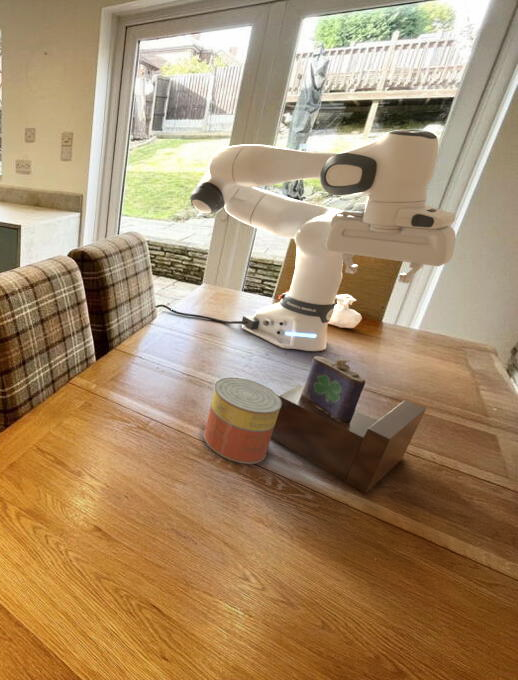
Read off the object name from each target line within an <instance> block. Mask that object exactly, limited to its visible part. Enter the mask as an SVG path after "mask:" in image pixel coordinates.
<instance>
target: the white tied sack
mask: <svg viewBox="0 0 518 680" xmlns="http://www.w3.org/2000/svg"><path fill="white" fill-rule="evenodd" d="M335 299H336V303H337V304H335V307H334V312H333V315H332V317H331V319H330V321H329V322H328V325H332V326H335V327H338V328H346V329H354V328H356V327H357V326H358V325H359V324H360V323H361V321H362V320H363V317H362V315H361V313H359V312H357V311H356V310H355V309H353V308H350V306H353V303H354V302H356V301H358V300H357V299H356V298H354V297H353V295H350V294H349V293H343V294H337V295H336V298H335Z"/></svg>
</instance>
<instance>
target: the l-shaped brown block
mask: <svg viewBox="0 0 518 680" xmlns="http://www.w3.org/2000/svg"><path fill="white" fill-rule="evenodd" d="M303 388H304V386H303V385H302V384H297V385H295V386H293V387H292V388H290V389H288V390H286V391H284V392H282V393H280V394H279V395H278V396H279V398H280V399H281V401H282V406H281V408H280V410H279V413H278V417H277V420H276V423H275V426H274V429H273V432H272V436H271V439H270V440H273V441H275V442H276V443H278V444H280V445H282V446H283V447H285V448H287V449H289V450H290V451H292V452H294V453H295V454H297V455H299V456H300V457H302V458H304V459H305V460H307V461H309V462H311V463H312V464H314V465H316V466H318V468H321V469H322V470H324V471H326V472H328V473H329V474H330V475H333V476H334V477H336V478H338V479H339V480H342V481H343V482H344V483H346V484H348V485H350V486H351V487H353V488H355V489H356V490H358V491H360V492H362V493H363V494H366V493H368V492H369V491H370V490H371V489H372V488H373V487H374V486H375V485H376V484H378V482H379V481H381V479H383V478H384V477H385V476H386V475H387V474H388V473H389V472H390V471H391V470H392V469H394V467H395V466H397V465H398V464H399V462H401V461H402V460H403V458H404V456H405V454H406V452H407V449H408V447H409V445H410V443H411V441H412V439H413V437H414V435H415V433H416V431H417V429H418V427H419V425H420V424H421V423H420V422H421V421H422V418H423V416H424V415H425V412H426V410H427V408H426V407H423V406H421V405H418V404H416V403H413V402H411V401H409V400H406V399H405V400H403V401H402V402H401V403H398V405H397V406H395V407H394V408H392V409H391V410H390V411H388V412H387V413H386V414H385V415H384V416H382V417H381V418H380V419H377V418H375V417H372V416H370V415H367V414H366V413H363V412H361V411H358V410H356V409H355V412H354V415H353V417H352V419H351V422H350V423H348V424H345V423H342V422H340V421H337V420H336V419H335V418H333V417H331V415H329V414H327V413H325V411H324V410H321V409H319V408H317V407H316V406H314V405H313V404H312V403H311V402H309V401H306V400H305V399H304V398H303V397H302V396H301V394H302V390H303Z"/></svg>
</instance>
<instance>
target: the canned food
mask: <svg viewBox="0 0 518 680" xmlns="http://www.w3.org/2000/svg"><path fill="white" fill-rule="evenodd" d="M281 406H282V401H281V399H280V398H279V395H278V394H277V393H276V392H275V391H274V390H273V389H271V388H269V387H268V386H266V385H264V384H261V383H259V382H257V381H253V380H250V379H247V378H241V377H223V378H221V379H219V380H217V381H216V382H215V383H214V390H213V395H212V399H211V402H210V407H209V410H208V411H209V412H208V416H207V419H206V424H205V429H204V431H203V440H204V442H205V443H206V445H207V446H208V447H209V448H210V449H211V450H212V451H213V452H215V454H218V455H219V456H221V457H223V458H224V459H227V460H229V461H232V462H235V463H238V464H239V463H240V464H246V465H252V464H259V463H260V462H262V461H264V460H265V458H266V456H267V452H268V449H269V446H270V445H269V444H270V442H271V440H272V439H271V436H272V432H273V429H274V426H275V423H276V420H277V417H278V413H279V410H280V408H281Z"/></svg>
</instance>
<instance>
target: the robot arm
mask: <svg viewBox="0 0 518 680" xmlns="http://www.w3.org/2000/svg"><path fill="white" fill-rule="evenodd" d="M438 150H439V139H438V136H437V135H435V134H434V133H433V132H431V131H427V130H422V129H421V130H420V129H395V130H390V131H388V132H386V133H385V134H383V135H382V136H380V137H379V138H377V139H375V140H373V141H371V142H368V143H366V144H364V145H360V146H359V147H355V148H353V149H349V150H345V151H343V152H312V151H311V152H310V151H303V150H297V149H290V148H286V147H285V148H284V147H279V146H273V145H266V144H255V143H253V144H250V143H249V144H248V143H247V144H236V145H230V146H224V147H221V148H219V149H218V150H217V151H215V152H214V153H213V154H212V156H211V157H210V159H209V162H208V170H207V171H206V173H205V174H204V176H203V177H202V178H201V180H200V181H199V182H198V184H197V186H195V187H194V188H193V190H192V192H191V194H190V197H189V198H190V200H189V201H190V204H191V205H192V207H193V208H194V209H196V210H197V211H198V212H200V213H201V214H204V215H216V214H217V213H219V212H220V211H221V210H222V209H223V208H224V210H225V212H226V213H227V214H228V215H229V216H231V217H233V218H234V219H236V220H238V221H239V222H242V223H243V224H245V225H248V226H251V227H253V228H256V229H257V230H261V231H263V232H266V233H268V234H272V235H274V236H277V237H282V238H287V239H292V240H294V242H295V246H296V252H295V253H296V254H295V255H296V256H295V268H294V272H293V276H292V280H291V284H290V288H289V290H286V291H285V292H284V293H282V294H280V295H278V298H277V300H279V302H276V303H273V304H269V305H266V306H264V307H262V308H260V309H258V310H257V311H256V312H255V313H254V315H253V316H252V315H243V316H242V319H241V320H232V321H231V320H230V321H229V320H224V319H223V320H222V319H219V318H215V317H211V316H207V315H201V314H194V313H186V312H181V311H177V310H174V309H173V308H171V307H169V306H167V305H165V304H157V305H155V306H154V308H156V309H158V308H165V309H166V310H168V311H170V312H171V313H174V314H176V315H179V316H186V317H194V318H200V319H205V320H210V321H213V322H217V323H221V324H228V325H234V324H235V325H238V324H239V325H242V326H241V328H242V329H243V330H244V331H247V332H249V333H251V334H253V335H255V336H257V337H259V338H261V339H263V340H265V341H267V342H269V343H271V344H273V345H275V346H277V347H279V348H281V349H286V350H287V349H288V350H289V349H290V350H291V349H292V350H298V351H299V350H300V351H306V352H320V351H321V352H322V351H324V350H326V349H327V333H328V327H329V324H328V322H329V321H330V319H331V317H332V315H333V312H334V307H335V305H336V302H335V301H336V299H337V298H336V295H338V292H339V289H340V285H341V283H342V280H343V272H342V271H343V265H345V271H344V272H345V273H346V274H352V275H354V274H356V273H357V271H358V268H359V265H358V264H355V263H354V261H353V257H355V256H360V257H361V256H362V257H369V258H376V259H381V260H388V261H389V260H390V261H395V262H396V261H397V262H404V263H409V268H410V270H409V271H408V272H403V273H400V274H399V276H398V278H399V279H398V283H402V284H410V283H411V282H412V279H413V275H415V274H416V273H418V271H420V270H421V269H423V267H424V266H432V267H440V266H443V265H446V264H448V263H450V262H451V260H452V258H453V255H454V250H455V245H456V231H455V229H454V228H453V227H452V226H451V225H452V224H454V223H455V220H456V217H457V215H456V214H455V213H453V212H450V211H446V210H443V209H439V208H437V207H434V206H431V205H428V204H426V201H427V187H428V185H429V183H430V181H431V180H432V178H433V176H434V172H435V168H436V164H437V159H438V152H439V151H438ZM311 179H312V180H319V182H320V185H321V187H322V189H323V191H325V192H326V193H328V194H329V195H332V196H339V197H349V196H354V195H361V194H366V197H367V198H366V203H365V208H364V211H349V210H341V209H336V208H334V207H333V208H332V207H328V206H325V205H321V204H315V203H311V202H306V201H302V200H298V199H295V198H291V197H289V196H285V195H281V194H278V193H276V192H272V191H269V190H265V189H261V187H267V186H274V185H278V184H279V185H280V184H283V183H288V182H289V183H290V182H293V181H294V182H295V181H299V180H311ZM259 187H260V188H259ZM343 263H344V264H343ZM171 309H172V310H171Z"/></svg>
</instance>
